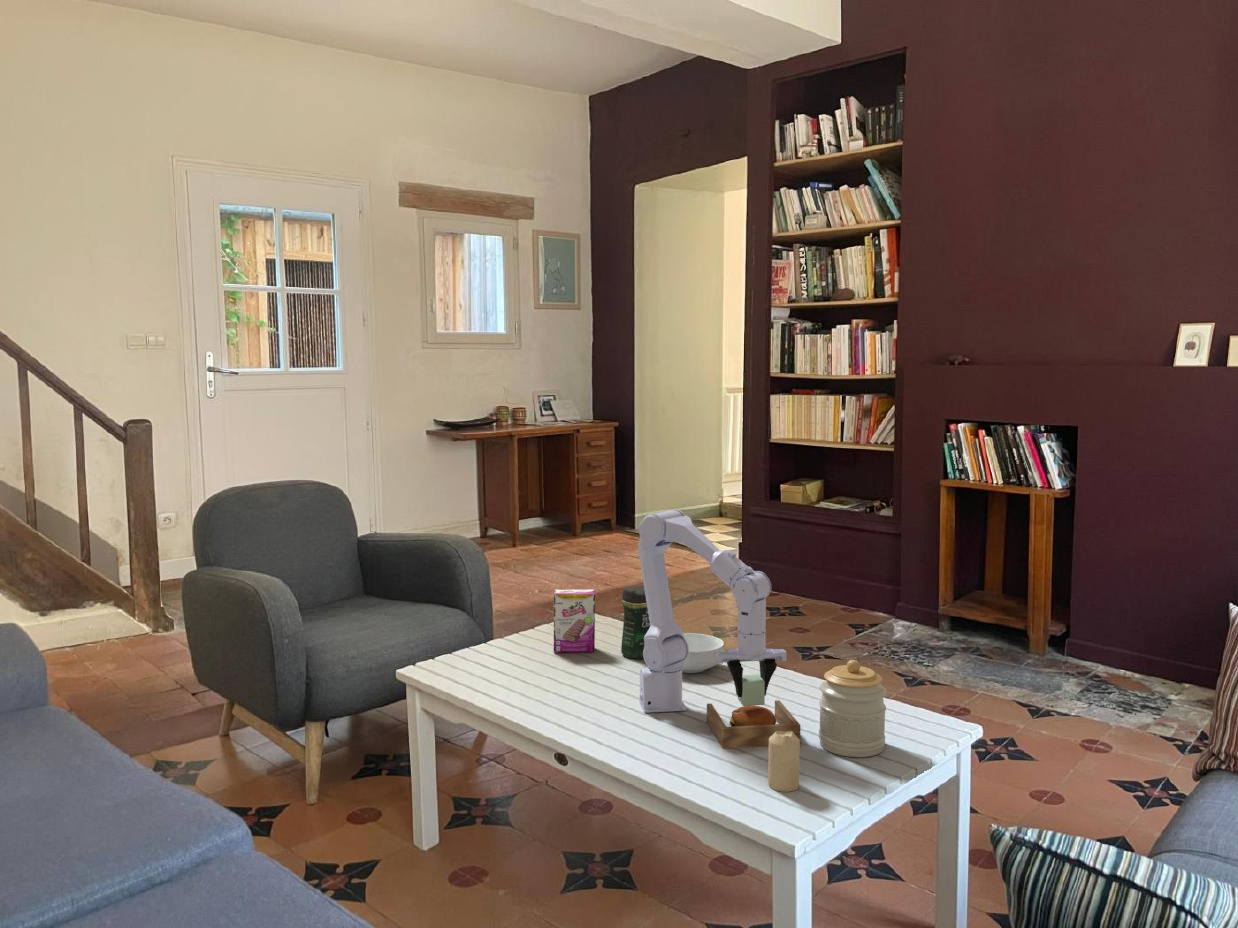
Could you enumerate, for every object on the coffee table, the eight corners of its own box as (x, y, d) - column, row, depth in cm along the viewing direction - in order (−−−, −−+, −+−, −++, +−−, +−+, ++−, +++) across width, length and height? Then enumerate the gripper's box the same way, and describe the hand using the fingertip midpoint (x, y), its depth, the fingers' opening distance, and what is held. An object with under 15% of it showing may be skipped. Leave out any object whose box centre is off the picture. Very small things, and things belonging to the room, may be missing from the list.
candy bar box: (553, 653, 252) (553, 593, 250) (553, 648, 256) (553, 589, 255) (595, 652, 252) (595, 592, 251) (594, 647, 257) (594, 588, 256)
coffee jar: (635, 661, 244) (635, 591, 243) (616, 654, 251) (616, 585, 249) (663, 654, 250) (663, 586, 249) (644, 647, 257) (644, 580, 255)
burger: (784, 736, 195) (785, 714, 194) (745, 743, 191) (746, 721, 191) (759, 720, 204) (759, 699, 203) (721, 726, 200) (721, 705, 200)
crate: (722, 748, 188) (722, 728, 188) (706, 721, 203) (706, 703, 202) (800, 744, 190) (800, 724, 190) (779, 717, 205) (779, 700, 204)
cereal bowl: (710, 682, 228) (710, 654, 227) (647, 673, 235) (647, 645, 234) (732, 663, 243) (733, 636, 242) (673, 655, 250) (673, 629, 250)
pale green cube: (743, 705, 194) (743, 682, 194) (737, 698, 199) (737, 675, 198) (764, 704, 195) (764, 681, 195) (758, 697, 199) (758, 674, 199)
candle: (795, 778, 174) (796, 726, 173) (802, 791, 169) (803, 737, 168) (765, 779, 174) (766, 726, 173) (771, 792, 169) (772, 738, 168)
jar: (899, 750, 187) (901, 663, 185) (850, 763, 181) (852, 674, 179) (852, 728, 198) (854, 647, 197) (805, 740, 192) (806, 656, 190)
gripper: (721, 637, 191) (721, 703, 192) (791, 635, 193) (790, 699, 194) (714, 628, 198) (713, 691, 199) (781, 625, 199) (780, 688, 201)
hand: (750, 694), depth 197 cm, fingers closed on pale green cube, 4 cm apart
